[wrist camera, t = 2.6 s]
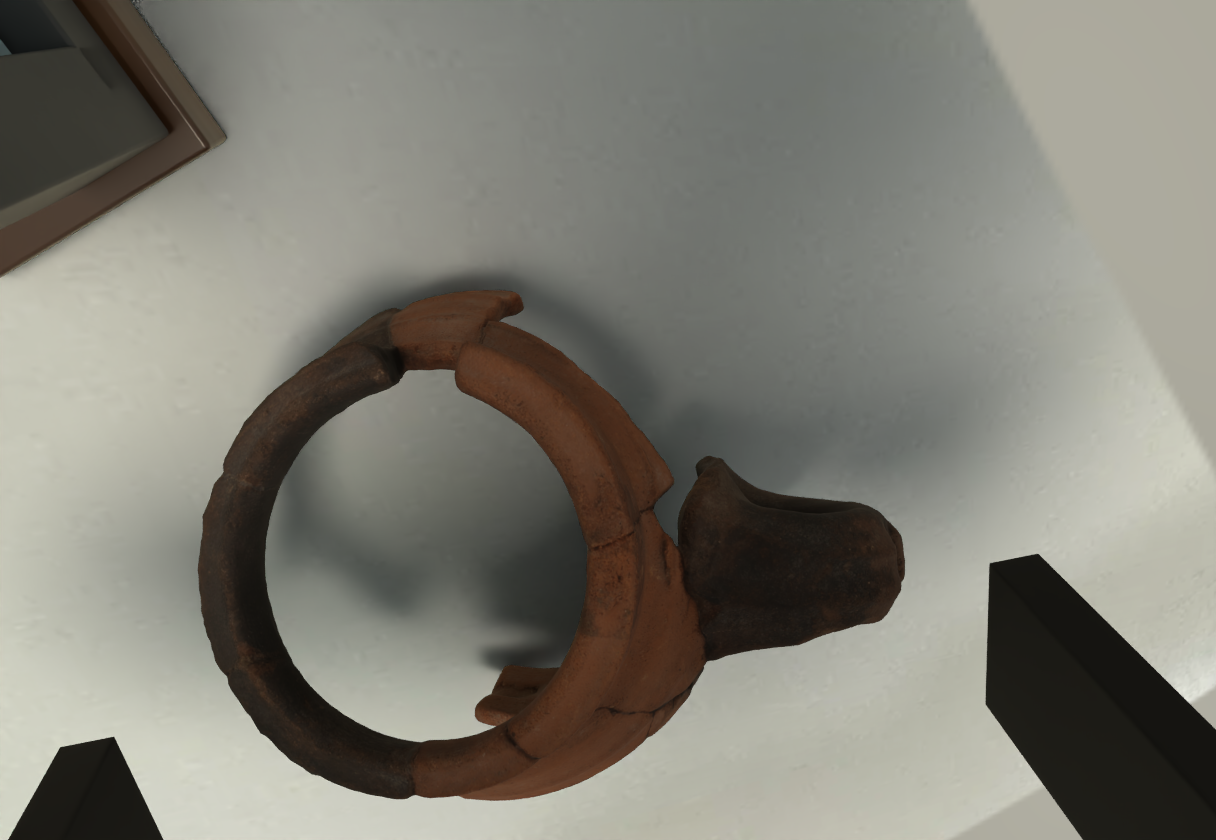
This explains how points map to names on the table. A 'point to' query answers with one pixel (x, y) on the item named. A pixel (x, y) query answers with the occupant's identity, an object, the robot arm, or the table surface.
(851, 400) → the table surface
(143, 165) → the brown piece
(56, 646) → the table surface
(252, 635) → the pottery mug
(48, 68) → the window sash
